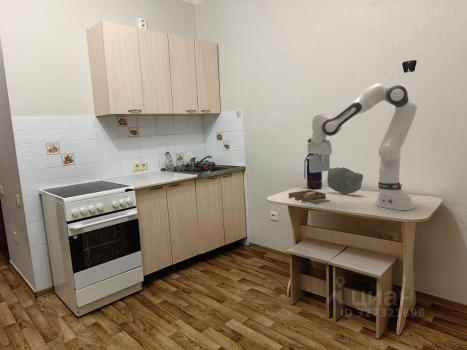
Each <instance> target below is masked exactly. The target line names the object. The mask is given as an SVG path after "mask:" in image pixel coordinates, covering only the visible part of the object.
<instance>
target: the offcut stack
mask: <svg viewBox="0 0 467 350" xmlns="http://www.w3.org/2000/svg"><path fill="white" fill-rule="evenodd" d="M312 196H315V192H308V193H305V195H302V198H306V197H312Z"/></svg>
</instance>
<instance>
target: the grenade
mask: <svg viewBox="0 0 467 350" xmlns="http://www.w3.org/2000/svg"><path fill="white" fill-rule="evenodd" d="M309 155H314V154H310V153H308V152H307V155H306V157H305V159H304V162H303V163H304V165H303V166H304V167H303V168H304V169H303V171H304V172H303V174H304V175H303V179H306V187H307V188H308V190H313V189H318V190H320V189H322V187H323V172H315V173H311V172H309Z"/></svg>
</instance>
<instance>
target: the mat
mask: <svg viewBox="0 0 467 350" xmlns="http://www.w3.org/2000/svg"><path fill="white" fill-rule="evenodd" d="M308 202H309V203H311V204H314V205H315V204H316V205H317V204H323V203H329V202H331V200H330V199H327V198H325V199H319V200H313V201H308Z"/></svg>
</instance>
